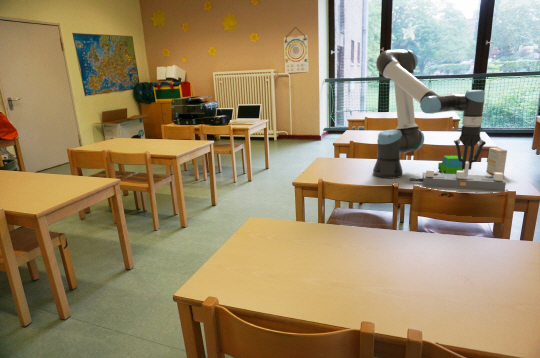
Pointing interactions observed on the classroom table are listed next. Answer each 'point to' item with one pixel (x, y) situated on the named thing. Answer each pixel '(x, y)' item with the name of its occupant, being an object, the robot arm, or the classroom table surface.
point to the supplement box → (496, 160)
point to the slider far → (498, 176)
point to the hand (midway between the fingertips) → (465, 176)
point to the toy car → (450, 165)
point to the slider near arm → (429, 173)
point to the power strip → (462, 182)
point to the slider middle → (460, 174)
